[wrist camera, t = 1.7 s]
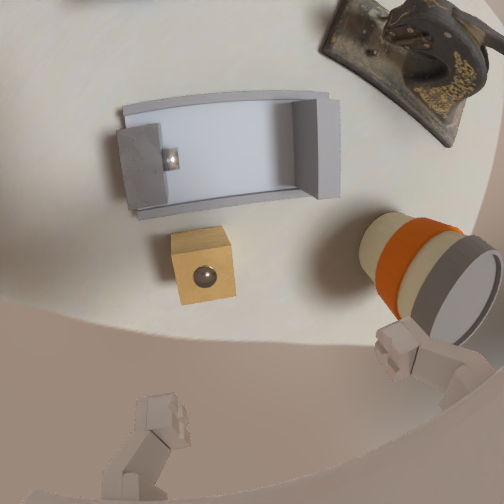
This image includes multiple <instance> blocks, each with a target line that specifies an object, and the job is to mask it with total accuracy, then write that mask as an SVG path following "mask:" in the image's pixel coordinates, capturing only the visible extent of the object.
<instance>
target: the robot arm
mask: <svg viewBox="0 0 504 504" xmlns="http://www.w3.org/2000/svg"><path fill="white" fill-rule="evenodd" d="M376 337H377V339H378V340H377V342H376V343H375V354H376V357H377V359H378V361H379V362H380V364H381V365H384V366H386V373H387V374H388V376H389V377H390V379H391V380H392V382H393V383H395V382H397V381H399V380H401V379H403V378H405V377H407V376H409V375H411V376H412V377H414V378H415V379H418V380H419V381H421V382H423V383H425V384H427V385H429V386H431V387H433V388H435V389H437V390H439V391H441V392H444V395H443V397H442V399H441V401H440V404H439V405H440V407H441V408H442V410H443V411H442V412H441V413H439V414H437V415H436V416H434V417H433V418H431V419H429V420H428V421H426V422H424V423H423V424H421V425H419V426H417V427H416V428H414V429H412V430H410V431H408V432H407V433H405V434H403V435H401V436H399V437H397V438H395V439H393V440H391V441H389V442H387V443H385V444H383V445H381V446H379V447H377V448H375V449H373V450H370V451H368V452H366V453H364V454H361V455H359V456H357V457H354V458H352V459H349V460H347V461H344V462H342V463H339V464H337V465H334V466H331V467H329V468H326V469H323V470H320V471H317V472H314V473H311V474H308V475H305V476H301V477H298V478H295V479H291V480H288V481H284V482H281V483H277V484H273V485H269V486H265V487H260V488H256V489H251V490H246V491H241V492H235V493H230V494H223V495H217V496H209V497H201V498H192V499H180V500H168V498H167V493H166V492H165V491H164V490H162V489H160V488H159V487H157V486H155V484H156V482H157V480H158V478H159V476H160V474H161V472H162V470H163V468H164V466H165V464H166V461H167V459H168V458H169V456H170V453H171V450H175V449H181V448H187V447H191V442H190V433H189V432H188V430H187V429H186V427H187V426H188V424H189V420H188V414H187V411H186V409H185V406H184V405H183V403H181V402H179V401H178V396H177V395H176V394H175V393H174V392H172V393H165V394H159V395H152V396H145V397H138V399H137V401H136V410H135V425H134V432H131V433H130V435H129V436H128V437H127V438H126V440H125V441H124V443H123V444H122V445H121V447H120V448H119V450H118V451H117V452H116V454H115V455H114V457H113V458H112V459H111V461H110V462H109V464H108V465H107V467H106V468H105V469H104V471H103V473H102V495H101V496H102V497H101V499H91V498H82V497H74V496H67V495H61V494H55V493H50V492H45V491H40V490H33V491H31V492H30V493H29V494H28V495H27V496H26V497H25V498H24V499H23V500H22V501H21V502H20V503H19V504H504V366H502V367H501V368H500V369H499V370H498V371H497V372H496V371H495V370H494V369H493V368H492V367H491V365H490V364H489V363H488V362H487V361H486V360H485V359H484V358H483V357H482V355H481V354H480V353H478V352H475V351H471V350H468V349H465V348H462V347H459V346H456V345H453V344H450V343H447V342H444V341H441V340H438V339H435V338H434V339H431V338H430V337H429V336H428V335H427V334H426V333H425V332H424V331H423V330H422V328H421V327H420V326H419V325H418V324H417V323H416V322H415V321H414V320H413V319H412V318H411V317H409V316H408V317H405V318H403V319H401V320H399V321H396V322H394V323H392V324H389V325H387V326H385V327H383V328H381V329H378V330H377V332H376Z"/></svg>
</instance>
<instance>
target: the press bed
mask: <svg viewBox="0 0 504 504" xmlns="http://www.w3.org/2000/svg"><path fill="white" fill-rule="evenodd" d="M123 116H125V125H126V128H130V127H135V126H141V125H146V124H152V123H161V132H162V142H163V149H166V148H173V147H177V148H178V157H179V166H180V169H179V170H173V171H166V175H167V182H168V190H169V195H168V204H163V205H157V206H151V207H145V208H140V209H138V211H137V214H138V219H139V221H140V220H145V219H151V218H157V217H163V216H169V215H175V214H181V213H188V212H194V211H201V210H207V209H214V208H221V207H228V206H236V205H243V204H251V203H258V202H266V201H275V200H283V199H292V198H301V197H310V196H313V197H315V198H316V199H318V200H320V199H330V198H340V171H341V138H340V101H339V100H331V99H329V92H313V91H242V92H224V93H211V94H201V95H191V96H183V97H175V98H168V99H161V100H155V101H149V102H143V103H138V104H132V105H127V106H123Z"/></svg>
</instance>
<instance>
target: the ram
mask: <svg viewBox="0 0 504 504" xmlns="http://www.w3.org/2000/svg"><path fill="white" fill-rule="evenodd" d="M116 131H117V140H118V148H119V155H120V162H121V169H122V175H123V182H124V188H125V193H126V199H127V204H128V210H134V209H140V208H145V207H151V206H157V205H163V204H168V195H169V190H168V182H167V175H166V171H173V170H179V169H180V166H179V157H178V148H177V147H173V148H166V149H163V142H162V132H161V123H152V124H146V125H141V126H135V127H130V128H125V129H120V130H116Z"/></svg>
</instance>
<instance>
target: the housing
mask: <svg viewBox="0 0 504 504" xmlns="http://www.w3.org/2000/svg"><path fill="white" fill-rule="evenodd" d="M171 258H172V263H173V268H174V273H175V277H176V282H177V287H178V292H179V296H180V301H181V305H187V304H193V303H199V302H205V301H211V300H217V299H222V298H228V297H233V296H236V289H235V279H234V269H233V259H232V249H231V244H230V242H229V240H228V238H227V236H226V233H225V231H224V229H223V227H222V226H217V227H211V228H204V229H198V230H191V231H185V232H179V233H173V234H171Z"/></svg>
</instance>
